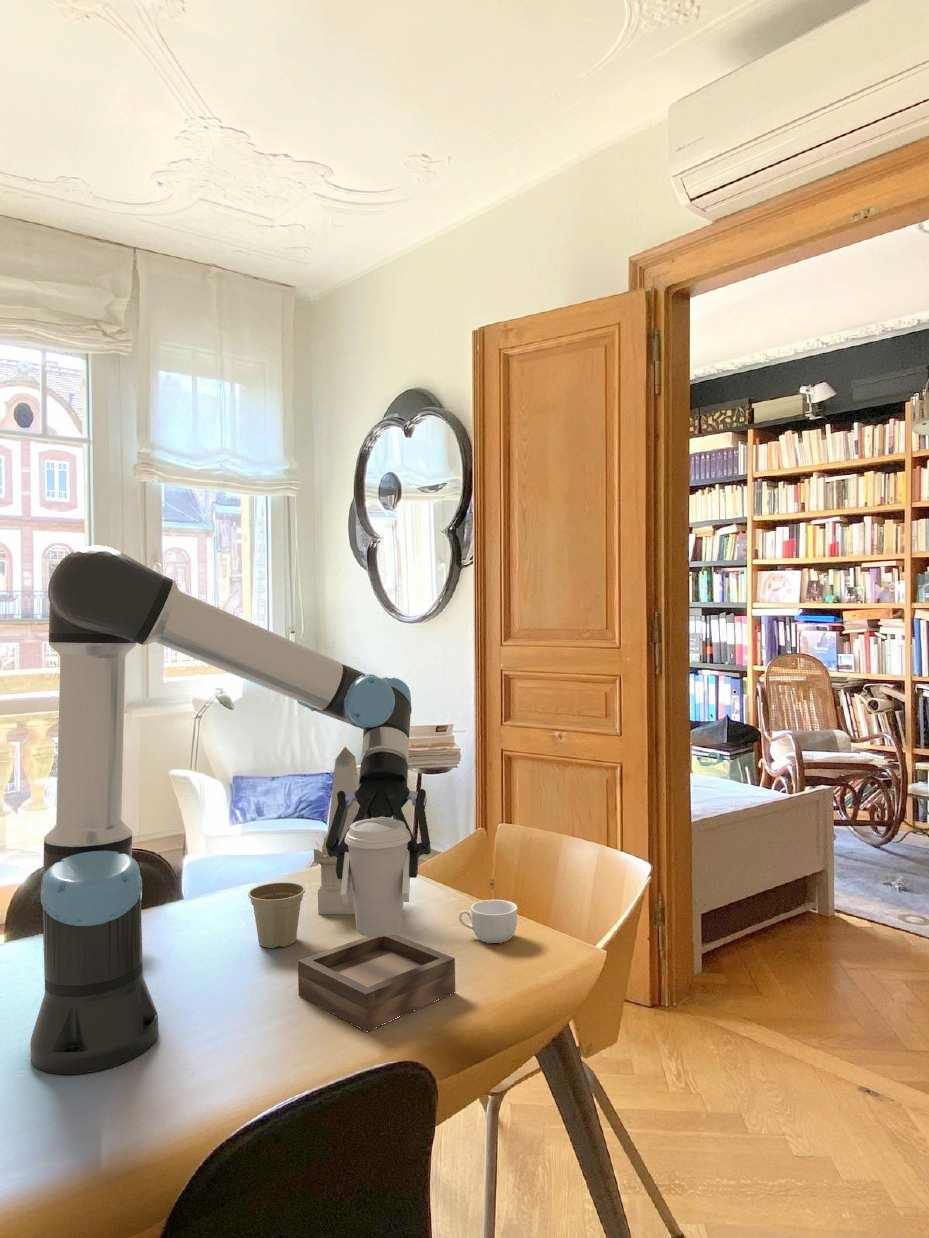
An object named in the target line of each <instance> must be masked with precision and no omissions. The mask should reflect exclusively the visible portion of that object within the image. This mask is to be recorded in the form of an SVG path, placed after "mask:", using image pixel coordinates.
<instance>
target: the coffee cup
mask: <svg viewBox="0 0 929 1238" xmlns="http://www.w3.org/2000/svg"><path fill="white" fill-rule="evenodd" d="M410 840H411V835H410V833H409V830H408V829H406V825H405V823H404V822H403V821H400V820H396V819H394V818H386V817H378V818H371V819H366V820H361V821H357V822H354V823H352V824H351V825H350V829H349V831H348V832H347V834H346V837H345V843H346V844H347V845H348V849H349V859H350V868H351V878H352V888H353V899H354V909H355V914H354V917H355V927H356V932H357V933H358V934H359V935H362V936H364V937H367V936H369V937H384V936H390V935H393V934H395V935H397V933H399V932H400V931H401V930H402V926H403V914H404V903H405V902H404V900H403V895H402V887H403V866H404V864H405V861H406V856H407V851H408V849H407V847H408V842H409V841H410Z"/></svg>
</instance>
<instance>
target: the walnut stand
mask: <svg viewBox="0 0 929 1238" xmlns="http://www.w3.org/2000/svg"><path fill="white" fill-rule="evenodd" d="M455 959H456V958H455V957H453V956H450V955H448V954H445V953H443V952H440V951H438V950H435V949H433V948H430V947H428V946H426V945H422V944H421V943H418V942H416V941H413V940H410V939H408V938H406V937H403V936H400V935H398V934H393V935H390V936H384V937H369V936H364V937H361V938H358V939H356V940H353V941H350V942H348V943H345V944H342V945H341V944H340V945H339V946H335V947H333V948H330V949H327V950H324V951H321V952H318V953H316V954H312V955H310V956H307V957H304V958H301V959H299V960H297V981H298V983H297V984H298V985H297V986H298V996H299V997H301V998H303V999H305V1000H307V1001H308V1002H310V1003H312V1004H314V1005H316V1006H317V1007H319V1006H320V1007H319V1008H321V1007H322V1008H321V1009H323V1010H325V1009H326V1010H325V1011H327V1012H328V1011H329V1013H330V1012H331V1014H332V1013H334V1014H335V1015H334V1014H333V1015H334V1016H336V1015H337V1016H336V1017H338V1016H339V1017H341V1018H342V1019H341V1018H340V1019H341V1020H343V1021H345V1020H346V1021H345V1022H347V1023H349V1024H350V1023H352V1024H353V1025H352V1024H351V1025H352V1026H354V1025H355V1026H354V1027H356V1026H358V1027H360V1028H361V1029H362V1031H363V1030H365V1031H369V1030H371V1031H373V1030H375V1029H377V1028H376V1027H378V1026H380V1025H382V1024H384V1023H387V1022H388V1021H391V1020H393V1019H395V1018H397V1017H399V1016H402V1015H405V1014H407V1013H409V1014H411V1013H413V1011H414V1010H416V1011H418V1010H420V1009H422V1008H421V1007H423V1006H425V1007H426V1005H427V1004H429V1005H431V1004H430V1003H432V1002H434V1001H436V1000H438V999H441V998H443V997H445V996H447V997H449V996H451V995H450V994H452V993H454V992H455V993H456V963H455V962H456V960H455ZM455 993H454V994H455ZM452 995H453V994H452ZM445 998H446V997H445ZM443 999H444V998H443ZM441 1000H442V999H441ZM438 1001H439V1000H438ZM436 1002H437V1001H436ZM434 1003H435V1002H434ZM432 1004H433V1003H432ZM427 1006H428V1005H427ZM419 1008H420V1009H419ZM423 1008H424V1007H423ZM417 1009H418V1010H417ZM410 1012H411V1013H410ZM414 1012H415V1011H414ZM407 1015H408V1014H407ZM405 1016H406V1015H405ZM339 1017H338V1018H339ZM402 1017H403V1016H402ZM393 1021H394V1020H393ZM391 1022H392V1021H391ZM387 1024H388V1023H387ZM384 1025H385V1024H384ZM382 1026H383V1025H382ZM358 1027H357V1028H358ZM380 1027H381V1026H380ZM374 1028H375V1029H374ZM378 1028H379V1027H378ZM361 1029H360V1030H361ZM365 1031H364V1032H365ZM369 1032H370V1031H369Z"/></svg>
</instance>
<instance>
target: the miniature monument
mask: <svg viewBox="0 0 929 1238" xmlns="http://www.w3.org/2000/svg"><path fill="white" fill-rule="evenodd" d="M334 761H335V762H334V769H333V780H332V788H331V789H332V790H331V799H330V808H329V816H328V817H329V818H328V827H327V833H326V834H324V836H323V837H324V838H323V844H319V846H318V848H314V849H313V863H314V864H318V865H320V878H321V879H320V880H321V885H320V887H319V888H318V890H317V911H318V912H317V914H318V915H355V909H354V899H353V888H352V878H351V881H350V892H349V903H343V901H342V898H341V885H342V879H338V877H337V874H336V864H337V857H335V856H333V857H330V856H329V855H328V852H327V849H326V842H327V839H328V835H329V832H330V829H331V825H332V822H333V819H334V816H335V812H336V809H337V806H338V799H337V793H338V792H339V791H344V792H345V794H346V793H352V792H355V790H356V789H357V787H358V785H359V774H358V768H357V767H358V766H357V762H356V756H355V755H354V754H353V753H352V752H351V751H350V749H348V747H347V746H344V747H343V749H342V750H341V751H340V753H339V754H338V755H337V757H336V759H335V760H334ZM359 807H360V805H359V804H358V802H357V801H354V802H353V803H352V806H351V808H350V809H348V814H347V818H346V821H345V825H344V828H343V831H342V835H341V838H340V842H339V845H340V843H341V841H342V839H343V838H344V836H345V834H346V832H347V831H348V829H349V827H350V825H351V824H352V822H353V820H354V819H355V817H356V815H357V813H358V810H359Z"/></svg>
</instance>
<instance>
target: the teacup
mask: <svg viewBox="0 0 929 1238" xmlns="http://www.w3.org/2000/svg"><path fill="white" fill-rule="evenodd" d="M463 914H466V915H467V916H468V917H469V918H470V921H471V923H466V922H465V921H464V920H463V919H462V917H463V916H462V915H463ZM458 916H459V917H458V920H459V922H460V924H461V925H462V926H464V927H466V928H468V929H470V930H473V932H474V935H475V936H476V937H477V938H478V939H479V940H480V941H481V942H483V941H484V942H483V943H485V942H486V943H485V944H488V943H500V944H503V943H502V942H504V943H506V942H508V941H509V940H510V939H511V938H512V937H513V936H514V934H515V932H516V930H517V923H518V905H517V904H516V903H514V902H512V901H510V900H509V901H508V900H503V899H484V900H479V901H477V902H474V903H473V904H471V906H470V910H466V909H465V910H462V911H461V912H460V913H459V915H458ZM505 941H506V942H505Z"/></svg>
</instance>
